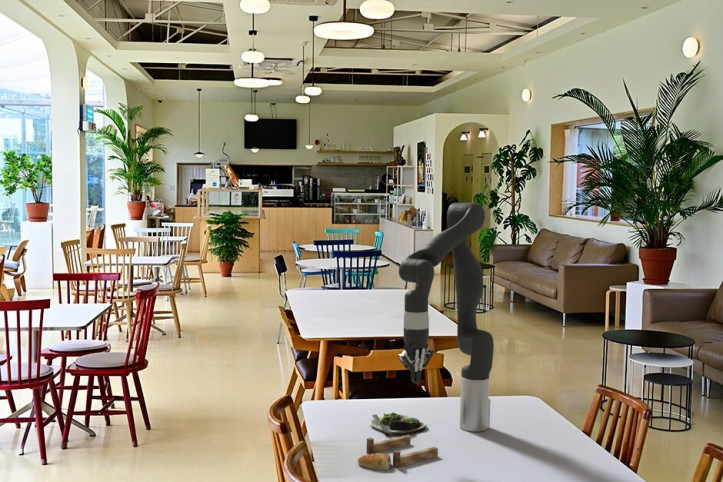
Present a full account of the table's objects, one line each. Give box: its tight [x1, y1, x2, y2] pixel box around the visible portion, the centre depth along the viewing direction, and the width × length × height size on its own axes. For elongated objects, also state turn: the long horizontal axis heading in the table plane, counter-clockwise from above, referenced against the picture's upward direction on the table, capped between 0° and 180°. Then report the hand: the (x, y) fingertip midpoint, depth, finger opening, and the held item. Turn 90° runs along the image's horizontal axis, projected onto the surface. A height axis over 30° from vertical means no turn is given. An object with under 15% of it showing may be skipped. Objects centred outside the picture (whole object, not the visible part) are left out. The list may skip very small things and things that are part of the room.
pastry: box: [357, 452, 392, 471], centre depth 216 cm, size 9×7×4 cm
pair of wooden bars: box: [366, 435, 439, 468], centre depth 225 cm, size 16×14×4 cm
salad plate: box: [369, 411, 427, 437], centre depth 251 cm, size 19×18×5 cm
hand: (415, 382), depth 226 cm, fingers closed
